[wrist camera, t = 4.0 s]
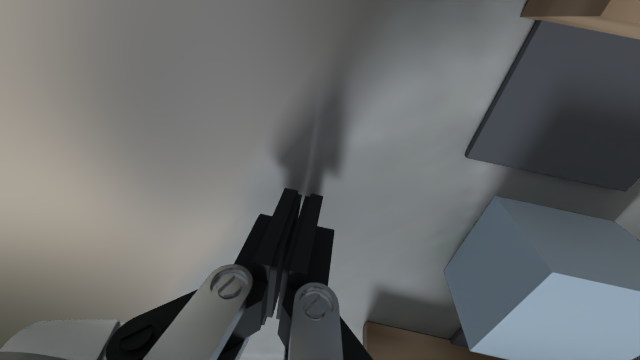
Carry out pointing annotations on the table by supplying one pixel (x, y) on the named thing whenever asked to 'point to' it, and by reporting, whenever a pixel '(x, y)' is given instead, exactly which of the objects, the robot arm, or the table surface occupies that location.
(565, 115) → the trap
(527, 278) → the block
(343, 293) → the table surface
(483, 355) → the trap lane
